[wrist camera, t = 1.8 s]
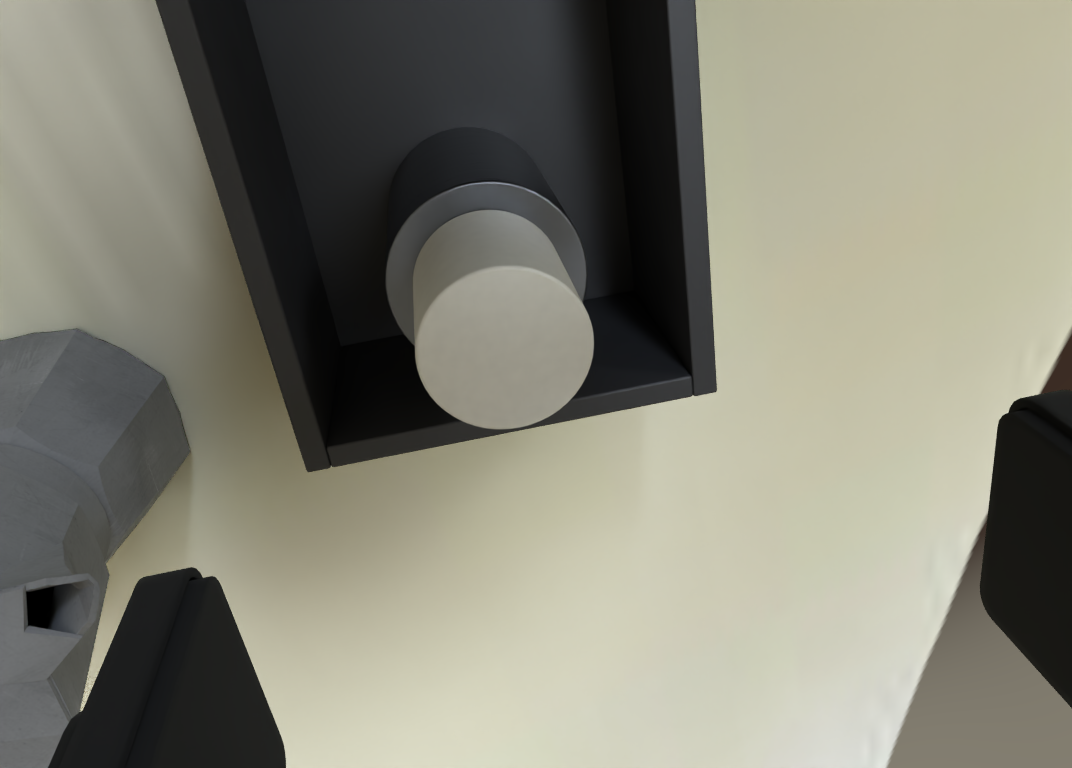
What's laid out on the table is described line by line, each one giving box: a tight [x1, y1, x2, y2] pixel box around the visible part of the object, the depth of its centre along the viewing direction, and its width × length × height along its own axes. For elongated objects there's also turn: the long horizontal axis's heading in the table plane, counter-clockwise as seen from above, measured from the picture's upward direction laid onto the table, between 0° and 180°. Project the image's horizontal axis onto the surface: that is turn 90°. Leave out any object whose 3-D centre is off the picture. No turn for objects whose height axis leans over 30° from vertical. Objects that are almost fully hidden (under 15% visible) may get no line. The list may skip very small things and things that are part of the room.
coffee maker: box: [155, 0, 717, 472], centre depth 28 cm, size 18×14×9 cm
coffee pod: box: [413, 210, 594, 429], centre depth 23 cm, size 4×4×5 cm
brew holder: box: [385, 127, 588, 346], centre depth 30 cm, size 6×6×9 cm
